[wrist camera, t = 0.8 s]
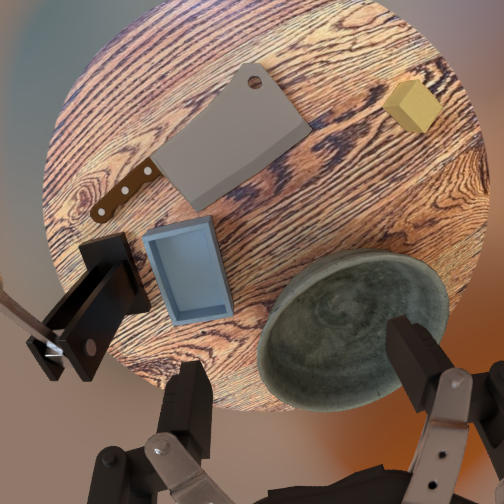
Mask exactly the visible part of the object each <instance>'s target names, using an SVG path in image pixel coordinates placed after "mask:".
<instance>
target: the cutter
mask: <svg viewBox="0 0 504 504" xmlns="http://www.w3.org/2000/svg"><path fill="white" fill-rule="evenodd" d="M78 247H79V250H80V252H81V255H82V257H83V260H84V263H85V265H86V268H87V271H86V272H85V273H84V274H83V275H82V276H81V277H80V278H79V280H78V281H77V282H76V283H75V284H74V285H73V286H72V287H71V288H70V290H69V291H68V292H67V293H66V294H65V295H64V296H63V298H62V299H61V300H60V301H59V302H58V303H57V304H56V306H55V307H54V308H53V309H52V310H51V312H50V313H49V314H48V315H47V316H46V318H45V319H44V320H43V321H42V322H41V323H43V324H44V325H45V326H47V327H48V328H49V329H50V330H62V329H65V330H64V331H63V333H62V334H61V336H60V337H59V339H58V340H57V341H58V343H59V345H60V346H61V348H62V350H63V351H64V353H65V355H66V356H67V358H68V360H69V361H70V363H71V364H72V366H73V367H74V369H75V371H76V372H77V374H78V375H79V377H80V378H81V379H82V381H83V382H91V381H92V380H93V378H94V375H95V373H96V371H97V369H98V367H99V365H100V363H101V361H102V359H103V357H104V355H105V353H106V351H107V349H108V347H109V345H110V343H111V341H112V339H113V337H114V335H115V333H116V331H117V330H118V328H119V326H120V324H121V322H122V320H123V318H124V316H125V315H132V314H139V313H146V312H149V311H150V309H151V305H150V302H149V300H148V297H147V295H146V292H145V290H144V287H143V284H142V282H141V279H140V276H139V274H138V271H137V268H136V266H135V263H134V260H133V257H132V254H131V252H130V249H129V246H128V243H127V240H126V237H125V234H124V232H121V233H118V234H114V235H110V236H106V237H102V238H98V239H94V240H91V241H87V242H83V243H82V244H81V245H79V246H78ZM26 344H27V346H28V347H29V349H30V351H31V352H32V354H33V355H34V357H35V359H36V360H37V362H38V363H39V365H40V366H41V368H42V369H43V371H44V372H45V374H46V375H47V377H48V378H49V379H50V381H58V379H59V378H60V376H61V374H62V373H63V371H64V369H65V368H64V367H63V366H61V365H59V364H57V363H56V362H54V361H52V360H51V359H49V358H48V357H46V356H45V353H46V346H47V345H45V344H44V343H42V342H41V341H40V340H38V339H37V338H35V337H34V336H32V335H31V336H30V338H29V339H28V340H27V341H26Z"/></svg>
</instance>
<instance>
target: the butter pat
mask: <svg viewBox="0 0 504 504" xmlns="http://www.w3.org/2000/svg"><path fill="white" fill-rule="evenodd" d="M382 107H383V108H384V109H385V110H386V111H387V112H388V113H389V114H390V115H391V116H392V117H393V118H394V119H395V120H396V121H397V122H398V123H399V124H400V125H401V126H402V127H403V128H404V129H405V130H406V131H408V132H418V133H426V131H427V130H428V128H429V127H430V125H431V124H432V122H433V121H434V120H435V118H436V117H437V115H438V114H439V112H440V111H441V109H442V108H443V106H442V105H441V104H440V103H439V102H438V100H437V99H436V98H435V97H434V96H433V95H432V94H431V92H430V91H429V90H428V89H427V88H426V87H425V86H424V85H423V84H422V83H421V82H420V80H418V79H417V80H412V81H407V82H402V83H400V84H399V85H398V86H397V88H396V89H395V90H394V92H393V93H392V94H391V96H390V97H389V98H388V100H387V101H386V102H385V104H384V105H383V106H382Z"/></svg>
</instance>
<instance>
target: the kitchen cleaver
mask: <svg viewBox="0 0 504 504" xmlns="http://www.w3.org/2000/svg"><path fill="white" fill-rule="evenodd" d="M251 77H258V78H259V79H260V80H261V82H262V85H261V87H260V88H259V89H252V88H250V87H249V85H248V80H249V79H250V78H251ZM311 130H312V128H311V127H310V126H309V125H308V124H307V122H306V121H305V120H304V119H303V118H302V116H301V115H300V114H299V112H298V111H297V110H296V108H295V107H294V106H293V104H292V103H291V102H290V100H289V99H288V98H287V97H286V95H285V94H284V93H283V91H282V90H281V89H280V88H279V86H278V85H277V84H276V83H275V81H274V80H273V79H272V78H271V76H270V75H269V74H268V73H267V72H266V70H265V69H264V68H263V67H262V66H261V64H260V63H244V64H242V66H241V67H240V69H239V70H238V71H237V73H236V74H235V76H234V77H233V79H232V80H231V81H230V83H229V84H228V85H227V86H226V87H225V88H224V89H223V90H222V91H221V92H220V93H219V95H218V96H217V97H216V98H215V99H214V100H213V101H212V102H211V103H210V104H209V105H208V106H207V107H206V108H205V109H204V110H203V111H202V112H201V113H200V114H199V115H197V116H196V117H195V118H194V119H193V120H192V121H191V122H190V123H189V124H188V125H186V126H185V127H184V128H183V129H182V130H181V131H179V132H178V133H177V134H176V135H175V136H173V137H172V138H171V139H170V140H169V141H167V142H166V143H165V144H164V145H163V146H161V147H160V148H159V149H158V150H157V151H156V152H155V153H153V154H152V155H151V156H150V157H148V158H146V159H145V160H144V161H143V162H142V163H140V164H139V165H138V166H137V167H136V168H135V169H133V170H132V171H131V172H130V173H129V174H128V175H127V176H125V177H124V178H123V179H122V180H121V181H120V182H119V183H118V184H117V185H115V186H114V187H113V188H112V189H111V190H110V191H109V192H108V193H107V194H106V195H105V196H104V197H103V198H102V199H101V200H100V201H98V202H97V203H96V204H95V205H94V206H93V207H92V209H91V211H90V216H91V218H92V219H93V220H94V221H95V222H97V223H106V222H107V221H109V220H110V219H111V218H112V217H113V214H114V211H115V209H116V208H117V207H118V206H119V205H122V204H124V203H125V202H126V201H127V200H129V199H130V198H131V197H132V196H133V195H134V194H136V193H137V192H138V190H139V189H140V188H141V186H142V185H143V184H144V183H147V182H150V181H153V180H155V179H156V178H157V177H158V176H160V175H163V176H165V177H166V178H167V179H168V181H169V182H170V183H171V184H172V185H173V186H174V187H175V188H176V189H177V190H178V191H179V192H180V193H181V195H182V196H183V197H184V198H185V199H186V200H187V201H188V202H189V203H190V204H191V206H192V207H193V208H194V209H195V211H196V212H197V213H198V212H200V211H201V210H202V209H204V208H205V207H207V206H208V205H210V204H211V203H213V202H214V201H216V200H217V199H219V198H220V197H222V196H223V195H225V194H226V193H228V192H229V191H231V190H232V189H234V188H235V187H237V186H238V185H240V184H241V183H243V182H244V181H246V180H247V179H249V178H250V177H252V176H254V175H255V174H257V173H258V172H260V171H261V170H262V169H264V168H265V167H266V166H268V165H269V164H270V163H271V162H273V161H274V160H275V159H277V158H278V157H279V156H281V155H282V154H283V153H284V152H286V151H287V150H288V149H290V148H291V147H292V146H294V145H295V144H296V143H298V142H299V141H300V140H302V139H303V138H304V137H306V136H307V135H308V134H309V133H310V132H311Z"/></svg>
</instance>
